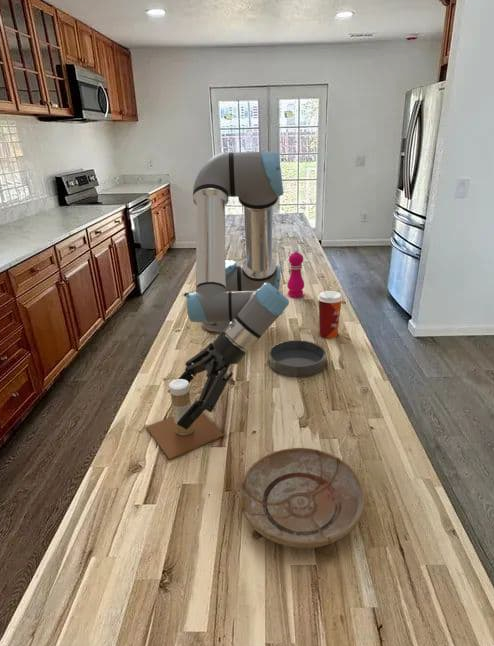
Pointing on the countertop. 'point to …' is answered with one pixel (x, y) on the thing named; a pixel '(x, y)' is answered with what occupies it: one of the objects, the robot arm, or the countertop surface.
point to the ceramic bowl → (302, 497)
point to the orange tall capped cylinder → (329, 313)
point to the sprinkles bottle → (180, 403)
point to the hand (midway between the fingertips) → (176, 409)
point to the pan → (297, 358)
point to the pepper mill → (295, 275)
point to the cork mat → (180, 444)
